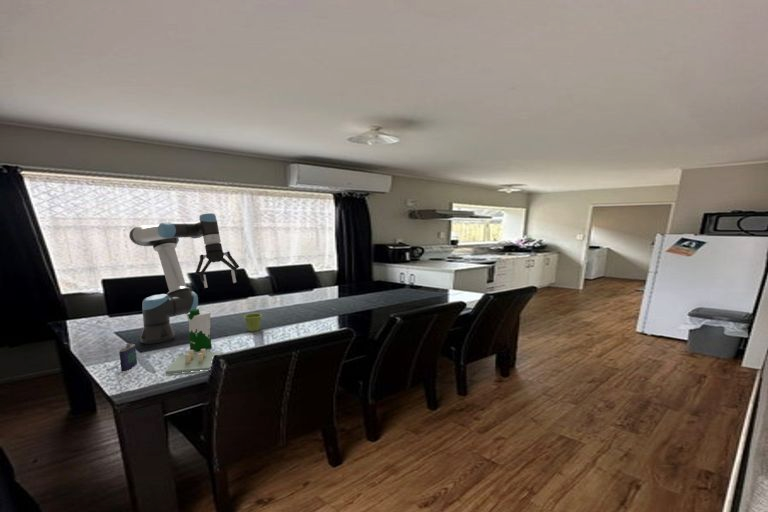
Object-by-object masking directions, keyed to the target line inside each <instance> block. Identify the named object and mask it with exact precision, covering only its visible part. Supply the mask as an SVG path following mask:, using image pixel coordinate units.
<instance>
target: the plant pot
mask: <svg viewBox="0 0 768 512" xmlns="http://www.w3.org/2000/svg"><path fill="white" fill-rule="evenodd" d="M262 315H263V314H261V313H248V314H246V315H244V318H245V321H246V326H247V331H248V332H252V333H253V332H258V331H259V330H260V325H261V319H262V317H263V316H262Z"/></svg>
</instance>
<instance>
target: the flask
mask: <svg viewBox="0 0 768 512" xmlns="http://www.w3.org/2000/svg"><path fill="white" fill-rule="evenodd" d="M136 351H137V349H136V344H135V343H125V347H124V348H121V350H119V352H118V353H119V363H120V372H121V371H126V372H127V370H128V371H129V369H130V370H131V369H133V368H134V367H135V366H136V365H137V364H138V360H137V352H136ZM132 367H133V368H132Z"/></svg>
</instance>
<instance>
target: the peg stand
mask: <svg viewBox="0 0 768 512" xmlns="http://www.w3.org/2000/svg"><path fill="white" fill-rule="evenodd" d="M187 351H188V352H187V353H185V354H179V355H178V357H176V359H175V360H174V361H173V362H172V364H171V365H170V366H169V367H168V368H167V369H166V370H165V375H166V374H171V375H174V374H173V373H181V374H183V373H182V372H191V371H200V370H208V371H207V372H210V371H209V369H210V365H211V361H212V357H213V356H214V355H216V354H221V353H222V354H223V351H212V352H210V351H209V352H207V349H201V351H200V352H197V353H195V351H194V350H191V349H188V350H187Z"/></svg>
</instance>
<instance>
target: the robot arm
mask: <svg viewBox="0 0 768 512" xmlns="http://www.w3.org/2000/svg"><path fill="white" fill-rule="evenodd" d="M198 220H199V221H196V222H194V221H193V222H170V221H168V222H167V221H166V222H160V223H159V224H157V225H156V224H155V225H137V226H135V227H133V228H132V229H131V230H130V231H129V234H128V235H129V239H130V240H131V242H132V243H133V244H135V245H137V246H140V247H153V251H154V252H156V253H158V257H159V261H160V263H161V264H160V265H161V267H162V268H161V269H162V270H163V274H164V276H165V282H166V284H167V285H166V286H167V288H168V292H167V293H160V294H153V295H150V296H148V297H145V298H144V299H143V300H142V307H141V309H142V321H143V328H142V332H141V335H140V343H141V344H145V345H147V344H148V345H150V344H151V345H152V344H160V343H164V342H168V341H170V340H173V339H174V338H175V330H174V329H173V327H172V325H171V322H170V321H171V320H170V318H174V317H177V316H182V315H187V314H189V313H190V310H193V309H198V305H199V297H198V294H197V293H196V292H195V291H191V290H192V289H191V288H190V287H189V286H187V284H186V281H185V278H184V274H183V270H182V268H181V264H180V261H179V257H178V254H177V251H176V248H177V244H179V242H180V238H181V239H182V238H191V239H200V238H203V243H204V249H205V253H206V254H200V255H199V261H198V263H197V264H198V265H197V266H196V267H197V268H196V270H195V275H197V276H199V278H200V282H201V283H203V286H204V289H206V288H208V282H207V277H206V274H205V272H206V271H207V269H208V267H209V266H210V265H211V264H212V263H219V262H221V263H223V264H225V265H226V266H227V267H228V268H230V269H231V273H230V274H231V277H232V278H231V279H232V283H233V284H235V283H237V279H236V278H237V277H236V276H238V274H237V269H239V268H240V265H239V264H238V262H237V261H236V260H235V259H234V257H232V254H231V252H230V250H229V251H226V252H224V251H223V245H222V243H221V242H222V241H221V236H220V235H221V234H220V232H219V231H220V230H219V225H218V220H217V215H216V214H215V213H212V212H211V213H210V212H206V213H201V214H200V215H199V219H198ZM224 256H225V257H227V259H228V260H229V261H230V262H229V261H228V260H227V259H226V258H225V257H224ZM205 259H207V261H206V263H205V265H203V263H204V260H205ZM202 265H203V268H202ZM201 268H202V269H201Z"/></svg>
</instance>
